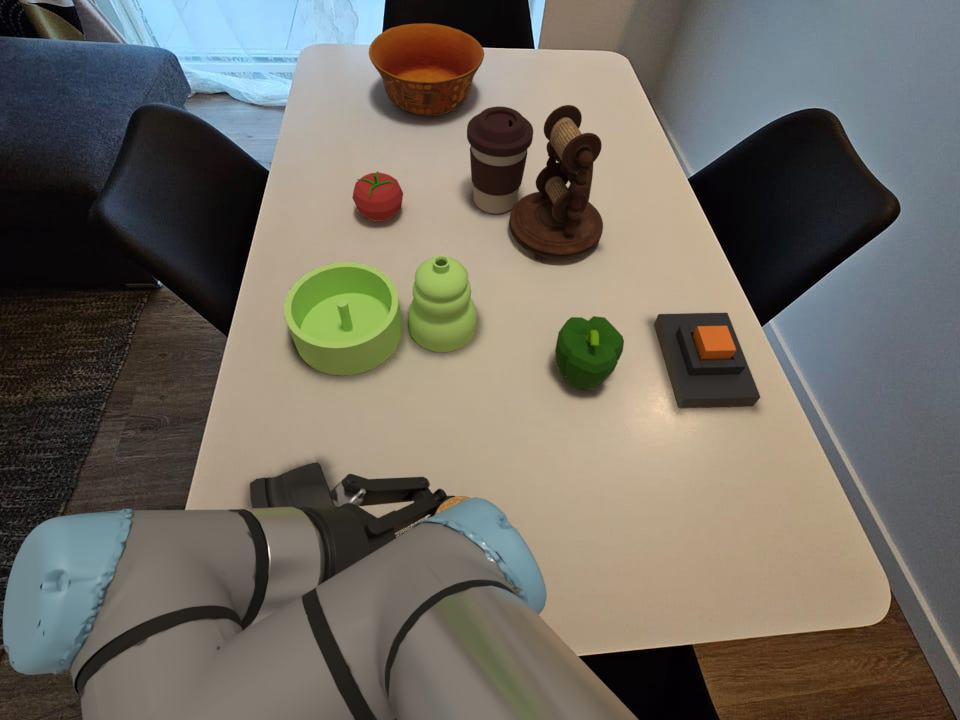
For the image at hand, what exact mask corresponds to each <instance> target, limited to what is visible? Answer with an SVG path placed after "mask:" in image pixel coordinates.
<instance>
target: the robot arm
mask: <svg viewBox="0 0 960 720" xmlns="http://www.w3.org/2000/svg"><path fill="white" fill-rule="evenodd" d="M430 486H431V482H430V481H429V480H428V478H426V477H425V476H409V477H387V478H383V477H382V478H367V477H363V476H360V475H358V474H354V473H348V474H347V475H346V476H345V477H343V478H342V480H341V481H339V482H338V484H336V485H335V487H334V488H332V490H330V495H331V497H332V499H333V502H337V506H336V505H335V506H324V507H301V508H297V509H296V508H294V507H276V508H253V509H252V508H237V509H234V508H233V509H232V508H230V509H149V510H148V509H139V510H137V509H135V510H133V509H132V508H123V509H120V510H111V511H99V512H98V511H97V512H88V513H76V514H70V515H60V516H56V517H52V518H49V519H47V520H44V521H43V522H41V523H40V524H38V525H36V526H35V527H34V528H33V530H31V532H30V533H28V535H27V536H26V537H25V539H24V540H23V542H22V544H21V546H20V548H19V549H18V552H17V554H16V556H15V558H14V561H13V564H12V567H11V569H10V572H9V573H10V574H9V577H8V581H7V585H6V589H5V597H4V603H3V611H2V613H3V614H2V636H3V637H2V640H3V647H4V651H5V652H6V653H7V654H8V661H9V664H10V666H11V667H12V669H13V670H14V671H16V672H17V673H20V674H23V675H29V676H33V675H45V674H53V676H54V675H55V676H56V675H57V674H64V673H65V671H69V673H70V676H71V678H72V685H73V691H74V693H75V694H76V696H78V702H79V705H80V706H81V707H80V709H81V716H82V717H81V718H82V720H640V719H639V718H638V717H637V716H636V715H635V714H634V713H633V712H632V711H631V710H630V708H628V707H627V706H626V704H624V702H622V701H621V699H620V698H619V697H618V696H617V695H616V694H615V693H614V692H613V691H612V690H611V689H610V688H609V687H608V686H607V685H606V684H605V683H604V682H603V680H602V679H600V677H599V676H598V675H596V673H595V672H594V671H593V670H592V669H591V668H590V667H589V666H588V664H586V662H584V661H583V660H582V659H581V658H580V657H579V656H578V655H577V653H576V652H575V651H574V650H573V649H572V648H571V646H569V645H568V644H567V643H566V642H565V641H564V640H563V638H561V637H560V636H559V635H558V634H557V632H556V631H554V629H552V627H551V626H550V625H549V624H548V623H547V622H546V621H545V620H544V619H543V618H542V616H540V614H541V613H542V612H543V611H544V608H545V606H546V603H547V595H548V594H547V586H546V583H545V580H544V577H543V575H542V572H541V569H540V566H539V563H538V562H537V560H536V557H535V556H534V554H533V553H532V550H531V549H530V547H529V546H528V544H527V542H526V541H525V538H523V536H522V535H521V533H520V532H519V530H518V529H517V528H516V527H514V525H512V523H511V522H510V521H509V519H508V516H506V513H504V512H503V511H502V509H500V508H499V506H497V505H496V504H494V503H493V502H491V501H490V500H488V499H486V498H481V497H470V498H469V499H466V500H464V501H462V502H460V503H458V504H456V505H454V506H452V507H450V508H448V509H446V510H444V511H442V512H440V513H438V514H436V515H435V513H436V511H437V509H438V508H439V507H440V505H441V504H442V503H443V502H445V501H446V500H448V499H450V498H452V497H456V496H455V495H447V493H446V492H445V490H444V489H442V488H437V489H436V490H435V491H434V492H432V491H431V490H430ZM408 502H409V503H410V502H412V503H410V504H408V505H405V506H404V507H401V508H399V509H397V510H395V509H394V510H392V511H390V512H388V513H386V514H383V515H381V516H379V517H376V516H375V515H374V514H372V513H370V512H368V511H367V510H365V509H364V508H362V507H367V506H377V505H389V504H400V503H408ZM426 517H427V518H426ZM413 524H414V525H413ZM411 525H412V527H411V529H409V530H407V531H405V532H404V533H402V534H401V535H399V536H397V535H396V533H398V532H400V531H402V530H404V529H406V528H408V527H409V526H411Z"/></svg>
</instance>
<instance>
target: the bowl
mask: <svg viewBox="0 0 960 720" xmlns="http://www.w3.org/2000/svg"><path fill="white" fill-rule="evenodd" d="M368 57H369V60H370V62H371V64H372V65H373V67H374V68H375V70H376V71H377V72H378V74H379V75H380V77H381V79H382V82H383V86H384V90H385V93H386V95H387V97H388V99H389V100H390V101H391V103H393V104H394V105H395V106H396V107H397V108H399V109H401V110H404V111H405V112H408V113H412V114H415V115H420V116H438V115H444V114H447V113H450V112H454V111H455V110H457V109H458V108H459V107H461V106H462V105H463V104H465V102H466V101H467V100H468V98H469V96H470V94H471V90H472V85H473V80H474V77H475V75H476V73H477V72H478V70H479V68H480V67H481V65H482V63H483V61H484V58H485V50H484V47H483V46H482V45H481V43H480V42H479V41H478V40H477V39H476V38H474V37H473V36H472V35H470V34H469V33H467V32H464V31H462V30H460V29H458V28H454V27H451V26H448V25H443V24H437V23H430V22H429V23H428V22H425V23H424V22H423V23H408V24H401V25H398V26H394V27H390V28H388V29H385V30H384V31H382V32H381V33H380V34H378V35H377V36H376V37H375V38H374V39H373V41H372V42H371V44H370V46H369V48H368Z"/></svg>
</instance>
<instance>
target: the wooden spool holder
mask: <svg viewBox="0 0 960 720" xmlns="http://www.w3.org/2000/svg"><path fill="white" fill-rule="evenodd" d="M582 115H583V114H582V113H581V111H580V109H579V108H578V107H577V106H575V105H572V104H565V105H561V106H559V107H557V108H555V109H554V110H553V111H551V113H549V115H548V116H547V117H546V120H545V121H544V125H543V134H544V137H545V139H547V141H548V142H547V143H546V147H545V148H546V152H547V157H548V159H547V161H546V162H545V163H546V164H545V167H544V168H542V169H541V170H540V172H539V173H538V175H537V176H536V179H535V187H536V190H537V191H536V192H531V193H529V194H526V195H525V196H523V197H522V198H520V199H518V200H517V202H516V204H515V205H514V207H513V208H512V209H511V210H510V213H509V220H508V226H509V231H510V234H511V235H512V237H513V239H514V240H515V241H516V242H517V244H519V245H520V246H521V247H522V248H524V249H525V250H527V251H528V252H530V253H532V254H533V255H534V257H535V259H536V260H540V259H541V258H542V257H544V258H547V259H555V260H566V259H568V260H569V259H574V258H578V257H581V256H584V255H585V254H588V253H589V252H591V251H592V250H593V249H594V248H596V247H597V245H598V244H599V242H600V241H601V238H602V235H603V230H604V222H603V218H602V216H601V213H600V212H599V211H598V209H597V208H596V207H595V206H594V204H592V203H590V196H591V189H592V184H593V183H592V182H593V176H594V163H595V161H596V160H597V159H598V157H599V156H600V154H601V152H602V146H603V145H602V140H601V138H600V137H599V136H598V134H595V133H593V132H584V133H583V132H581V130H580V127H581V125H582V119H583V116H582ZM568 183H569V185H568V186H567V184H568Z"/></svg>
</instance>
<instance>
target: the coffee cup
mask: <svg viewBox="0 0 960 720" xmlns="http://www.w3.org/2000/svg"><path fill="white" fill-rule="evenodd" d="M533 138H534V128H533V124H532V123H531V122H530V121H529V120H528V119H527V118H526V117H525V116H523V115H522V114H521V113H520V112H519V111H518V110H516V109H514V108H511V107H508V106H499V105H498V106H491V107H487V108H485V109H483V110H482V111H481V112H479V113H478V114H475V115H474V116H473V117H472V118H471V119H470V120H469V121H468V123H467V126H466V139H467V141H468V143H469V145H470V148H469V157H470V159H469V160H470V178H471V179H470V180H471V183H472V191H473V192H472V193H473V201H474V203H475V205H476V206H477V208H479V209H480V210H481V211H483V212H486V213H489V214H494V215H495V214H504V213H507V212H509V211H511V210H512V208H513V207H514V205H515V204H516V203H517V202H518V196H519V192H520V188H521V185H522V183H523V179H524V173H525V167H526V162H527V158H528V149H529V148H530V147H531V145H532V144H533V140H534V139H533Z"/></svg>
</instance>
